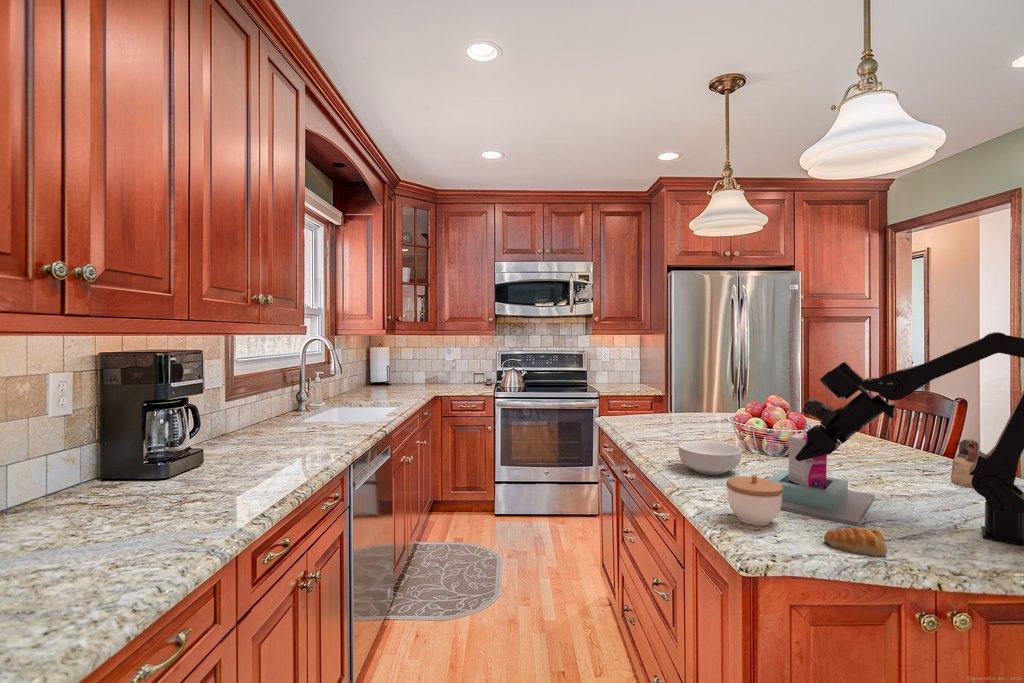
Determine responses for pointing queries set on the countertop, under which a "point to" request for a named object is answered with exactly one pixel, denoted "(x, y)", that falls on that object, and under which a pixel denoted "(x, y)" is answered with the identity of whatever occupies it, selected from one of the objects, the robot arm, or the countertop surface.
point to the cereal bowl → (710, 456)
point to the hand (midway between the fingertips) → (800, 456)
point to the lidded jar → (754, 499)
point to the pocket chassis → (824, 499)
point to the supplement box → (805, 465)
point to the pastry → (858, 540)
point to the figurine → (964, 463)
